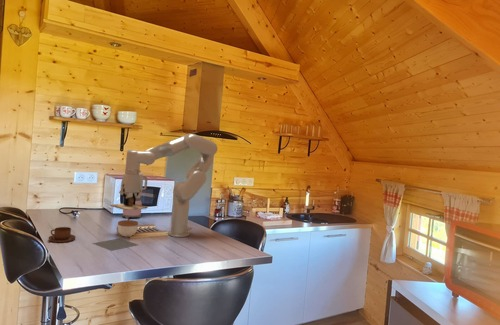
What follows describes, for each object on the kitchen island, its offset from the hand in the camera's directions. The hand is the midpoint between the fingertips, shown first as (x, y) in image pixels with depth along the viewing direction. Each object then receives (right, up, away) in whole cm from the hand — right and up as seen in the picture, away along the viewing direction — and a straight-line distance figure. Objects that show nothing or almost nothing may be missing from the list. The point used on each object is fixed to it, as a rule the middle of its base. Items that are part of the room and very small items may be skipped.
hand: (129, 204), depth 193 cm
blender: (-14, -15, +50) cm, 54 cm away
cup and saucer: (-27, -16, -19) cm, 37 cm away
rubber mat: (-1, -18, -18) cm, 26 cm away
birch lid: (0, -2, 0) cm, 1 cm away
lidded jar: (-2, -18, +1) cm, 18 cm away
